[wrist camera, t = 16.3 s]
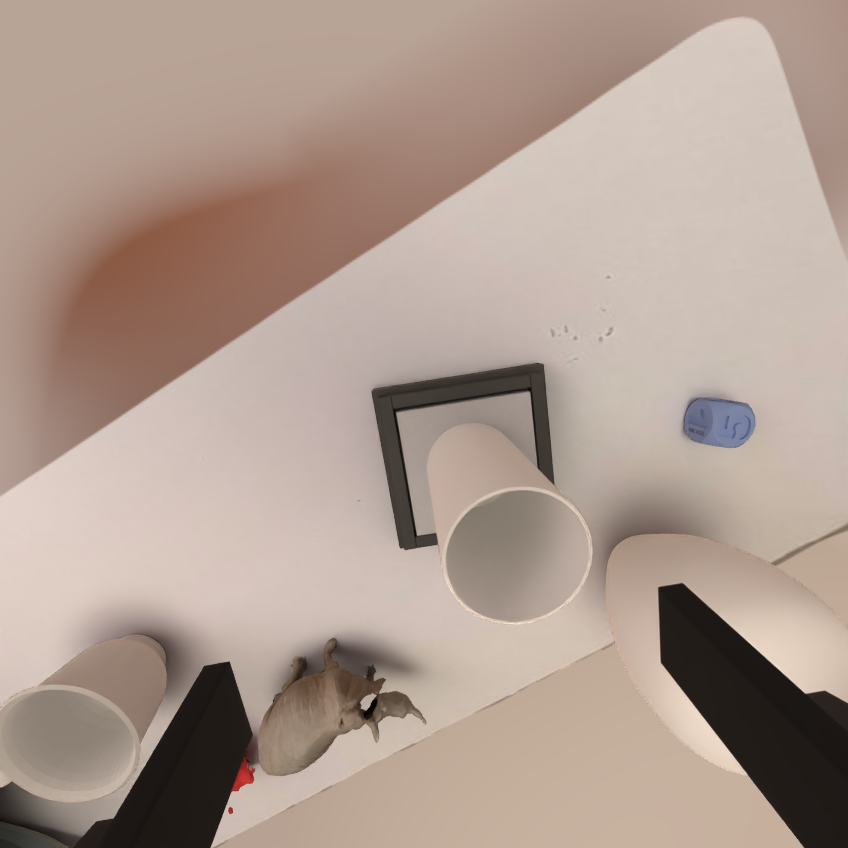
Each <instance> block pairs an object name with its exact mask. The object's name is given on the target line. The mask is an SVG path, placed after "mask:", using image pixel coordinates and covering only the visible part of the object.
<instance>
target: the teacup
mask: <svg viewBox="0 0 848 848" xmlns="http://www.w3.org/2000/svg"><path fill="white" fill-rule="evenodd" d="M165 665H166V654H165V651H164V649H163V648H162V646H161V645H160V644H159V643H158V642H157V641H155V640H154V639H152V638H150V637H148V636H145V635H139V634H133V635H127V636H124V637H122V638H120V639H113V640H107V641H104V642H101V643H98V644H96V645H94V646H92V647H90V648H88V649H86V650H85V651H83V652H82V653H80V654H79V655H78V656H76V657H75V658H73V659H72V660H71V661H69V662H68V663H67V664H66V665H64V666H63V667H62V668H60V669H59V670H58V671H57V672H55V673H54V674H53V675H52V676H50V677H49V678H48V679H46V680H45V681H44V682H42V683H41V684H40V685H38V686H37V687H32V688H29V689H26V690H23V691H21V692H19V693H17V694H15V695H14V696H12V697H11V698H9V699H8V700H7V701H6V702H5V703H4V704H3V705H2V706H1V707H0V788H1V787H4V786H6V785H8V784H9V783H10V782H12V781H13V782H14V783H15V784H16V785H18V786H19V787H21V788H22V789H24V790H26V791H28V792H29V793H31V794H34V795H36V796H39V797H41V798H45V799H48V800H53V801H59V802H84V801H89V800H94V799H97V798H101V797H103V796H106V795H108V794H110V793H113V792H114V791H116V790H117V789H119V788H120V787H122V786H123V785H124V784H125V783H126V782H127V781H128V780H129V779H130V778H131V776H132V775H133V773H134V772H135V770H136V767H137V765H138V762H139V758H140V744H141V741H142V739H143V737H144V735H145V733H146V731H147V729H148V727H149V726H150V724H151V722H152V720H153V718H154V716H155V714H156V712H157V710H158V708H159V705H160V703H161V701H162V698H163V696H164V693H165V689H166V684H167V673H166V668H165Z"/></svg>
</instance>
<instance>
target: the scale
mask: <svg viewBox="0 0 848 848" xmlns="http://www.w3.org/2000/svg"><path fill="white" fill-rule="evenodd" d="M524 389H525V390H528V391H530V396H531V406H532V416H533V426H534V436H535V447H536V457H537V467H538V470H539V471H540V472H541V473H542V474H543V475H544V476H545V477H546V478H547V479H548V480H549V481H550V482H551V483H552V484H553V485H554V475H553V464H552V452H551V441H550V430H549V419H548V408H547V397H546V385H545V374H544V365H543V364H540V363H536V364H529V365H523V366H516V367H510V368H504V369H497V370H491V371H485V372H478V373H472V374H466V375H459V376H453V377H446V378H440V379H434V380H427V381H421V382H415V383H408V384H402V385H396V386H389V387H383V388H376V389H373V390H372V397H373V402H374V408H375V413H376V419H377V424H378V430H379V435H380V441H381V447H382V452H383V458H384V463H385V469H386V474H387V480H388V485H389V491H390V496H391V502H392V507H393V513H394V518H395V524H396V529H397V535H398V541H399V546H400V548H404V550H408V549H414V548H419V547H426V546H432V545H438V540H437V533H432V534H426V535H420V536H417V532H416V526H415V520H414V514H413V509H412V503H411V497H410V491H409V485H408V479H407V473H406V467H405V461H404V456H403V450H402V444H401V438H400V432H399V426H398V420H397V414H396V411H397V410H398V409H404V408H410V407H417V406H423V405H429V404H436V403H442V402H448V401H455V400H461V399H467V398H474V397H480V396H486V395H493V394H499V393H505V392H512V391H518V390H524Z"/></svg>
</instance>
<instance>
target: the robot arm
mask: <svg viewBox="0 0 848 848" xmlns="http://www.w3.org/2000/svg"><path fill="white" fill-rule="evenodd" d="M658 604H659V633H660V661H661V664H662V665H663V666H664V668H665V669H666V670H667V671H668V673H669V674H670V675H671V677H672V678H673V679H674V680H675V682H676V683H677V684H678V686H679V687H680V688H681V689H682V691H683V692H684V693H685V695H686V696H687V697H688V698H689V700H690V701H691V702H692V704H693V705H694V706H695V708H696V709H697V710H698V711H699V713H700V714H701V715H702V717H703V718H704V719H705V720H706V722H707V723H708V724H709V726H710V727H711V728H712V729H713V731H714V732H715V733H716V735H717V736H718V737H719V738H720V740H721V741H722V742H723V744H724V745H725V746H726V747H727V749H728V750H729V751H730V753H731V754H732V755H733V756H734V758H735V759H736V760H737V762H738V763H739V764H740V765H741V767H742V768H743V769H744V771H745V772H746V773H747V774H748V776H749V777H750V778H751V780H752V781H753V782H754V784H755V785H756V786H757V787H758V789H759V790H760V791H761V793H762V794H763V795H764V796H765V798H766V799H767V800H768V802H769V803H770V804H771V805H772V807H773V808H774V809H775V811H776V812H777V813H778V814H779V816H780V817H781V818H782V820H783V821H784V822H785V823H786V825H787V826H788V827H789V829H790V830H791V831H792V832H793V834H794V835H795V836H796V838H797V839H798V840H799V841H800V843H801V844H802V845H803V847H804V848H848V703H847V702H845V701H843V700H841V699H840V698H838V697H836V696H834V695H832V694H831V693H829V692H827V691H825V690H824V691H819V692H813V693H807V694H805V693H804V692H803V691H802V690H801V689H800V688H799V687H798V686H796V685H795V684H794V683H793V682H792V681H791V680H790V679H789V678H788V677H786V676H785V675H784V674H783V673H782V672H781V671H780V670H779V669H778V668H776V667H775V666H774V665H773V664H772V663H771V662H770V661H769V660H768V659H766V658H765V657H764V656H763V655H762V654H761V653H760V652H759V651H758V650H757V649H755V648H754V647H753V646H752V645H751V644H750V643H749V642H748V641H747V640H745V639H744V638H743V637H742V636H741V635H740V634H739V633H738V632H737V631H735V630H734V629H733V628H732V627H731V626H730V625H729V624H728V623H727V622H725V621H724V620H723V619H722V618H721V617H720V616H719V615H718V614H717V613H715V612H714V611H713V610H712V609H711V608H710V607H709V606H708V605H707V604H705V603H704V602H703V601H702V600H701V599H700V598H699V597H698V596H697V595H696V594H694V593H693V592H692V591H691V590H690V589H689V588H688V587H687V586H686V585H684V584H683V583H678V584H673V585H667V586H661V587H658ZM252 735H253V734H252V731H251V728H250V724H249V721H248V718H247V715H246V712H245V709H244V706H243V702H242V699H241V696H240V693H239V690H238V687H237V683H236V680H235V677H234V674H233V671H232V668H231V664H230V662H224V663H218V664H212V665H207V666H204V667H203V669H202V671H201V672H200V674H199V676H198V677H197V679H196V681H195V682H194V684H193V686H192V687H191V689H190V691H189V692H188V694H187V696H186V698H185V699H184V701H183V703H182V704H181V706H180V708H179V709H178V711H177V713H176V714H175V716H174V718H173V719H172V721H171V723H170V724H169V726H168V728H167V730H166V731H165V733H164V735H163V736H162V738H161V740H160V741H159V743H158V745H157V746H156V748H155V750H154V751H153V753H152V755H151V757H150V758H149V760H148V762H147V763H146V765H145V767H144V768H143V770H142V772H141V773H140V775H139V777H138V778H137V780H136V782H135V784H134V785H133V787H132V789H131V790H130V792H129V794H128V795H127V797H126V799H125V800H124V802H123V804H122V805H121V807H120V809H119V811H118V812H117V814H116V816H115V817H114V819H108V820H102V821H97V822H96V823H95V824H94V825H93V826H92V827H91V828H90V829H89V830H88V831H87V832H86V834H85V835H84V836H83V837H82V838H81V839H80V840H79V841H78V842H77V843H76V845H75V846H74V847H73V848H211V845H212V842H213V840H214V837H215V834H216V832H217V829H218V826H219V823H220V821H221V818H222V815H223V813H224V810H225V807H226V805H227V802H228V799H229V797H230V794H231V791H232V789H233V786H234V783H235V780H236V778H237V775H238V772H239V770H240V767H241V764H242V762H243V759H244V756H245V754H246V751H247V748H248V746H249V743H250V740H251V737H252Z"/></svg>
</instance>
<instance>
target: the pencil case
mask: <svg viewBox="0 0 848 848" xmlns="http://www.w3.org/2000/svg"><path fill="white" fill-rule="evenodd" d="M0 848H69V847H67V846H66V845H64V844H62V843H61V842H59V841H57V840H55V839H53V838H51V837H49V836H47V835H44V834H42V833H39V832H36V831H34V830H30V829H27V828H24V827H20V826H17V825H13V824H9V823H5V822H0Z"/></svg>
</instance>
